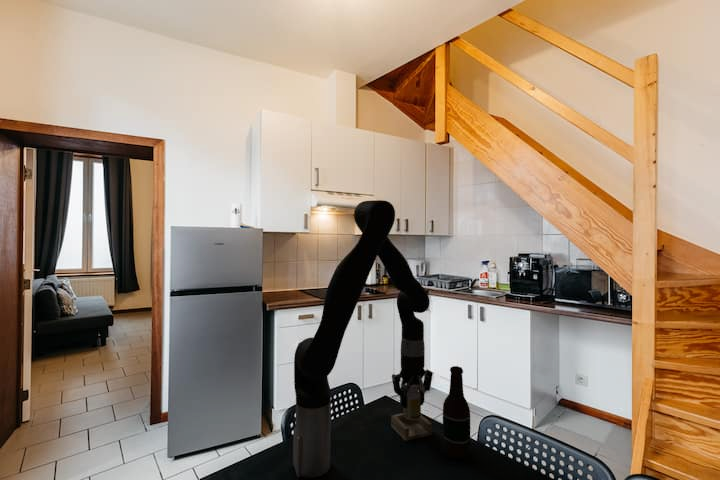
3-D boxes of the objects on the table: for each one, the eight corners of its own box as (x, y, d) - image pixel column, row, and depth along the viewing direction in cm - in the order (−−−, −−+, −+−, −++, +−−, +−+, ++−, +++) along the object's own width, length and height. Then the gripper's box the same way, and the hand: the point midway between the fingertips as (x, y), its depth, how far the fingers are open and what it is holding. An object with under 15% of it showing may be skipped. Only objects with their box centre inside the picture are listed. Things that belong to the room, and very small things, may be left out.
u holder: (405, 440, 105) (405, 429, 105) (391, 426, 114) (391, 415, 114) (431, 435, 109) (432, 423, 109) (416, 421, 118) (416, 410, 118)
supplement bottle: (423, 415, 112) (423, 384, 112) (416, 422, 107) (416, 390, 108) (407, 411, 115) (408, 381, 115) (400, 417, 110) (400, 386, 110)
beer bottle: (439, 455, 98) (439, 369, 99) (445, 441, 105) (446, 361, 106) (467, 463, 95) (467, 374, 95) (472, 449, 101) (472, 365, 102)
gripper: (398, 358, 105) (397, 414, 105) (438, 353, 111) (438, 407, 110) (387, 351, 112) (386, 404, 112) (425, 346, 118) (425, 397, 117)
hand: (412, 405), depth 111 cm, fingers closed on supplement bottle, 5 cm apart
